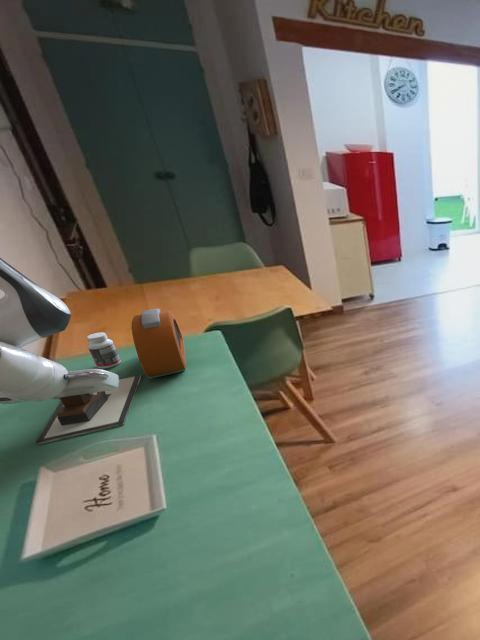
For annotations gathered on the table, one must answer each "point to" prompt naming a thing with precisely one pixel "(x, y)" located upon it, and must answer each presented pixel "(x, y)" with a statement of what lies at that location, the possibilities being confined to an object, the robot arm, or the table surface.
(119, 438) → the table surface
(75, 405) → the eraser
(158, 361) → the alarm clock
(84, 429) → the whiteboard
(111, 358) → the pill bottle
